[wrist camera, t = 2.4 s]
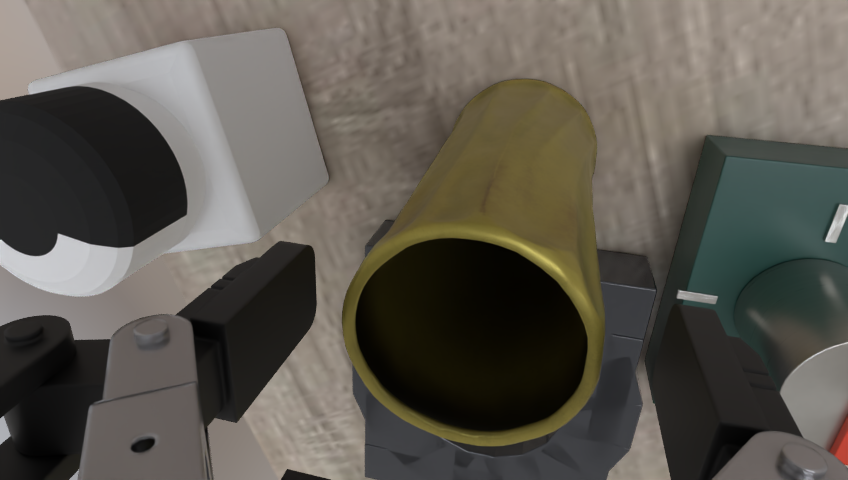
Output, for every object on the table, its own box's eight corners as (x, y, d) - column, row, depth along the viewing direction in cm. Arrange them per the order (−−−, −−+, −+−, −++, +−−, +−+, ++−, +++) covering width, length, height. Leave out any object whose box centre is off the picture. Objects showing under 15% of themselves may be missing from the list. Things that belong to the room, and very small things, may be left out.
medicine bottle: (154, 59, 26) (-140, 111, 15) (286, 25, 23) (54, 57, 13) (209, 201, 28) (-8, 331, 18) (333, 182, 26) (171, 317, 15)
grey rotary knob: (753, 250, 20) (811, 332, 15) (892, 268, 19) (999, 361, 14) (719, 349, 22) (761, 449, 17) (843, 370, 21) (924, 482, 16)
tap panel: (697, 133, 21) (717, 155, 19) (952, 158, 20) (1015, 187, 17) (637, 360, 26) (645, 405, 23) (838, 395, 24) (873, 448, 22)
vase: (584, 225, 24) (601, 490, 11) (447, 210, 25) (326, 433, 13) (608, 83, 21) (663, 221, 9) (454, 73, 23) (309, 182, 10)
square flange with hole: (372, 217, 26) (350, 243, 24) (663, 258, 24) (675, 292, 21) (370, 434, 32) (353, 474, 30) (603, 485, 30) (606, 534, 27)
